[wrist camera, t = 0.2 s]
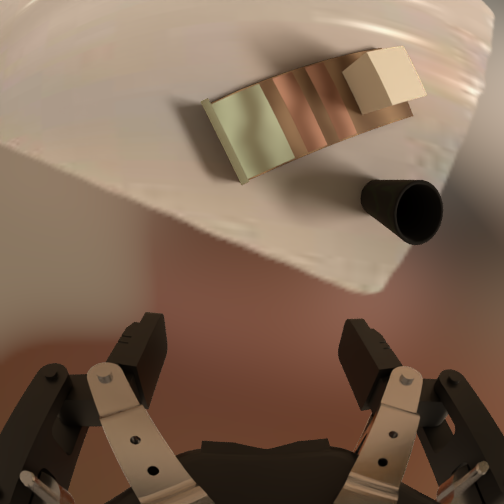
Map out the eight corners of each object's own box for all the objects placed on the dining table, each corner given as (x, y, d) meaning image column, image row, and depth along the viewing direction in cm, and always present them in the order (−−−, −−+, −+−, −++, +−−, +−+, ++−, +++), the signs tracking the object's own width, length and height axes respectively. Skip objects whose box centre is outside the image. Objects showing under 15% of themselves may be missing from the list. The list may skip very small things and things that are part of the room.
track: (378, 49, 31) (389, 41, 27) (409, 116, 35) (423, 113, 31) (204, 107, 34) (200, 101, 30) (241, 182, 38) (241, 185, 34)
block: (374, 64, 31) (403, 45, 23) (393, 104, 33) (427, 95, 25) (341, 72, 32) (366, 52, 23) (362, 114, 34) (392, 105, 25)
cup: (355, 224, 40) (393, 248, 29) (352, 174, 38) (393, 181, 26) (397, 220, 40) (441, 241, 29) (396, 172, 38) (443, 180, 26)
